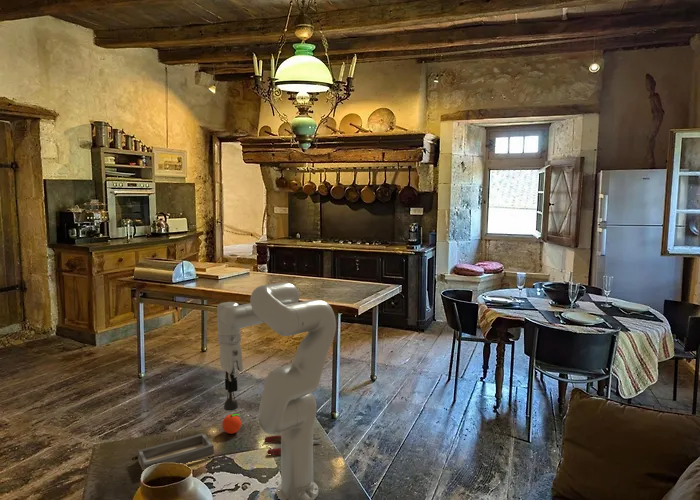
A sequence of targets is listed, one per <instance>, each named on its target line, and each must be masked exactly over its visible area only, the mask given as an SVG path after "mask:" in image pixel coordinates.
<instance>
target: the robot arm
mask: <svg viewBox="0 0 700 500" xmlns="http://www.w3.org/2000/svg"><path fill="white" fill-rule="evenodd" d="M300 297H301V296H300V291H299V289H298V287H296V285H295V284H292V283H291V282H277V283H270V284H262V285H259V286H257V287H256V288H254V290H252V293H251V294H250V301H249V303H243V304H239V303H237V302H235V301H227V302H221V303H219V304H218V305H217V307H216V308H217V309H216V310H217V311H216V312H217V336H218V337H217V339H218V345H219V363H220V367H221V368H222V370H223V371H224V385H225V386H224V387H225V388H224V389H225V390H226V391H227V393H228V392H229V393H230V392H232V393H233V392H234V393H235V392H237V391H238V378H239V375H240V374H239V372H241V373H242V372H243V370H244V367H243V366H244V365H243V355H242V348H241V347H242V346H241V342H242V338H241V337H242V335H241V334H242V333H241V329H243V328H248V327H253V326H257V325H261V324H264V323H265V325H267V326H268V327H269V328H271V330H272V331H274V332H275V333H276V334H278V335H279V336H283V337H289V336H290V337H291V336H295V335H298V334H304V333H307V334H305V336H304V337H303V339H302V340H301V341H300V343H299V345H298V347H297V350H296V353H295V357H294V360H293V361H291V363H289V364H286V365H284V366H280V367H278V368H275V369H273V370H272V371H271V372H270V373H269V374H268V375H267V377H266V379H265V381H264V385H263V389H262V393H261V394H262V395H261V398H260V403H259V407H258V416H257V418H258V424H259V426H260V428H261V429H262V430H263V432H264V433H266V434H267V435H276V434H280V433H281V435H280V436H281V442H280V448H281V455H280V469H281V470H280V472H281V473H280V474H281V475H280V477H281V479H280V480H281V481H280V482H281V483H280V484H279V485H278V486H277V487H276V490H275V491H276V492H275V495H276V494H277V496H278V497H279V499H281V500H315V499H316V498H317V497H318V495H319V486H318V484H317V483H316V482H314V444H313V437H314V425H315V421H316V416H317V415H316V414H317V408H318V406H317V401H316V398H315V396H314V394H313V392H315V391H316V390H317V389H318V386H319V384H320V381H321V377H322V375H323V374H322V373H323V370H324V367H325V365H326V364H325V363H326V360H327V357H328V353H329V350H330V348H331V346H332V343H333V341H334V339H335V335H336V332H337V331H336V329H337V320H336V315H335V312H334V310H333V308H332V306H331V305H330V304H329V303H328V302H327V301H325V300H321V299H308V300H304V301H299V300H300ZM231 374H232V375H231ZM228 376H229V381H228ZM229 393H228V394H229ZM278 490H280V491H278ZM277 496H276V497H277Z"/></svg>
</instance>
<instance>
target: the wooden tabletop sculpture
mask: <svg viewBox="0 0 700 500" xmlns="http://www.w3.org/2000/svg"><path fill="white" fill-rule="evenodd" d="M231 375H232V374H231ZM228 381H229V376H228ZM223 405H224V406H223V409H224V410H225V411H235V410H237V409H238V408H239V405H238V401H237V399H236V397H235V391H234V392H230V393H229V392H228V391H227V394H226V400H225V401H224V403H223Z"/></svg>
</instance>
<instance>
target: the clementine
mask: <svg viewBox="0 0 700 500" xmlns="http://www.w3.org/2000/svg"><path fill="white" fill-rule="evenodd" d="M239 416H240V417H241V418H242V419H243V416H241V415H240V414H239V413H232V414H228V415H226V416H225V417H224V419H223V420H222V424H221V426H222V429H223V431H224V432H225V433H227V434H231V435H233V434H236V433H237V432H238V431H239V430H240V429H241V426H242V420H241V418H240V417H239Z"/></svg>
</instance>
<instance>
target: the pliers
mask: <svg viewBox="0 0 700 500" xmlns="http://www.w3.org/2000/svg"><path fill="white" fill-rule="evenodd" d="M281 436H282V435H271V436H266V437H265V438H264V443H265V442H268V443H274V442H275V441H276V442H279V443H281ZM320 439H322V437H319V436H318V437H314V436H313V445H315V444H320V443H323V441H322V440H320ZM267 453H268V454H271V455H276V456H281V447H278V448H276V447H275V448H269V449H268V450H267ZM267 453H266V454H267ZM268 454H267V455H268Z"/></svg>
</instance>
